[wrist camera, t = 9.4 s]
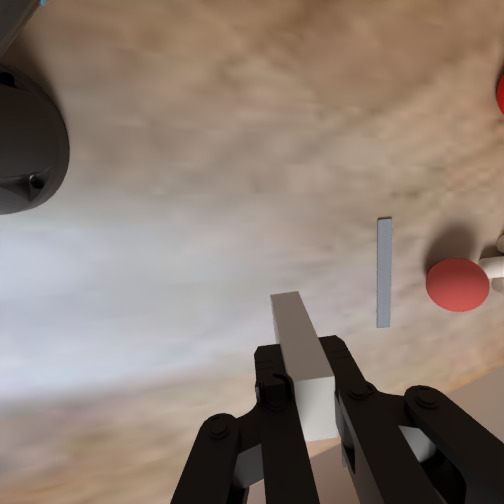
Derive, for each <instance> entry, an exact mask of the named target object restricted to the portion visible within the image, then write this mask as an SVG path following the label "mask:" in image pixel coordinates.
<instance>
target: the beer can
mask: <svg viewBox="0 0 504 504" xmlns="http://www.w3.org/2000/svg"><path fill="white" fill-rule="evenodd" d="M497 101H498V106H499V108H500V110H501V112H502V113H503V114H504V74H503V76H502V78H501V80H500V83H499V85H498V90H497Z"/></svg>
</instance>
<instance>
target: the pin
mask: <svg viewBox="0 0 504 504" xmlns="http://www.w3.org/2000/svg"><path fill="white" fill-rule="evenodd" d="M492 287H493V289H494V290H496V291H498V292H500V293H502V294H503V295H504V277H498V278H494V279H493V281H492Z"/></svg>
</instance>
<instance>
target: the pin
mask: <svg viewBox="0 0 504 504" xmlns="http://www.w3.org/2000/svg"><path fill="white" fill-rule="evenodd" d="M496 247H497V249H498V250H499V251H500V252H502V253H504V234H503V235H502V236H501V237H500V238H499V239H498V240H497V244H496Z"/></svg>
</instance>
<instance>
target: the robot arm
mask: <svg viewBox="0 0 504 504" xmlns="http://www.w3.org/2000/svg"><path fill="white" fill-rule="evenodd" d="M46 2H47V0H0V59H1V58H2V57H3V55H4V54H5V52H6V51H7V50H8V48H9V47H10V45H11V44H12V43H13V41H14V40H15V39H16V37H17V36H18V34H19V33H20V32H21V30H22V29H23V27H24V26H25V25H26V23H27V22H28V20H29V19H30V18H31V16H32V15H33V14H34V12H35V11H36V9H37V8H38V7H39V5H41V6H44V5H45V3H46ZM68 161H69V144H68V137H67V133H66V129H65V126H64V123H63V121H62V118H61V116H60V114H59V112H58V110H57V109H56V107H55V105H54V104H53V102H52V101H51V99H50V98H49V97H48V95H47V94H46V93H45V92H44V91H43V90H42V89H41V88H40V87H39V86H38V85H37V84H36V83H35V82H34V81H33V80H32V79H30V78H29V77H28V76H26V75H25V74H23V73H22V72H20V71H18V70H17V69H15V68H13V67H11V66H8V65H6V64H3V63H1V62H0V215H4V214H12V213H16V212H21V211H25V210H29V209H32V208H35V207H37V206H39V205H41V204H43V203H44V202H46V201H47V200H48V199H49V198H51V197H52V196H53V195H54V193H55V192H56V191H57V190H58V188H59V187H60V185H61V184H62V182H63V180H64V177H65V174H66V171H67V167H68ZM270 297H271V305H272V314H273V322H274V330H275V339H276V344H273V345H266V346H258V348H257V350H256V352H255V354H254V359H255V370H256V384H255V392H256V398H257V403H256V405H255V406H254V408H253V409H252V410H251V411H250V412H248V413H247V414H245V415H243V416H241V417H239V418H235V417H234V416H232V415H230V414H226V413H221V414H216V415H213V416H211V417H209V418H208V419H207V420H206V421H204V423H203V424H202V426H201V427H200V429H199V432H198V434H197V437H196V440H195V442H194V445H193V447H192V450H191V452H190V455H189V457H188V460H187V462H186V465H185V467H184V470H183V472H182V475H181V477H180V480H179V482H178V485H177V487H176V490H175V492H174V495H173V498H172V500H171V503H170V504H247V499H248V494H249V486H251V485H252V484H254V483H256V482H258V481H260V480H262V479H264V484H265V496H266V504H320V502H319V498H318V493H317V489H316V485H315V481H314V477H313V472H312V469H311V464H310V460H309V455H308V451H307V447H306V443H305V442H306V441H313V440H320V439H327V438H335V437H338V436H337V428H338V431H339V434H340V437H341V446H342V464H343V467H346V464H347V467H348V470H349V472H350V475H351V478H352V481H353V484H354V487H355V489H356V493H357V495H358V498H359V501H360V504H504V444H503V442H501V441H500V440H499V439H498V438H496V437H495V436H494V435H493V434H491V433H490V432H489V431H488V430H487V429H486V428H484V427H483V426H482V425H481V424H479V423H478V422H477V421H476V420H475V419H473V418H472V417H471V416H470V415H469V414H467V413H466V412H465V411H464V410H462V409H461V408H460V407H459V406H458V405H456V404H455V403H454V402H453V401H452V400H450V399H449V398H448V397H447V396H445V395H444V394H443V393H441V392H440V391H438V390H437V389H434V388H431V387H429V386H422V385H417V386H411V387H410V388H408V389H407V390H406V392H405V394H404V396H401V395H392V394H386V393H383V392H380V391H378V390H377V389H376V388H375V386H374V385H373V384H371V383H369V382H368V381H366V380H365V379H364V377H363V375H362V373H361V371H360V370H359V368H358V366H357V364H356V362H355V360H354V359H353V357H352V355H351V353H350V351H348V348H347V346H346V344H345V342H344V341H343V340H341V339H340V338H339V337H337V336H336V335H333V336H326V337H319V338H318V337H317V334H316V332H315V330H314V327H313V325H312V323H311V320H310V318H309V316H308V313H307V311H306V309H305V306H304V304H303V302H302V299H301V297H300V295H299V292H298V291H296V292H289V293H282V294H274V295H270Z"/></svg>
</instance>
